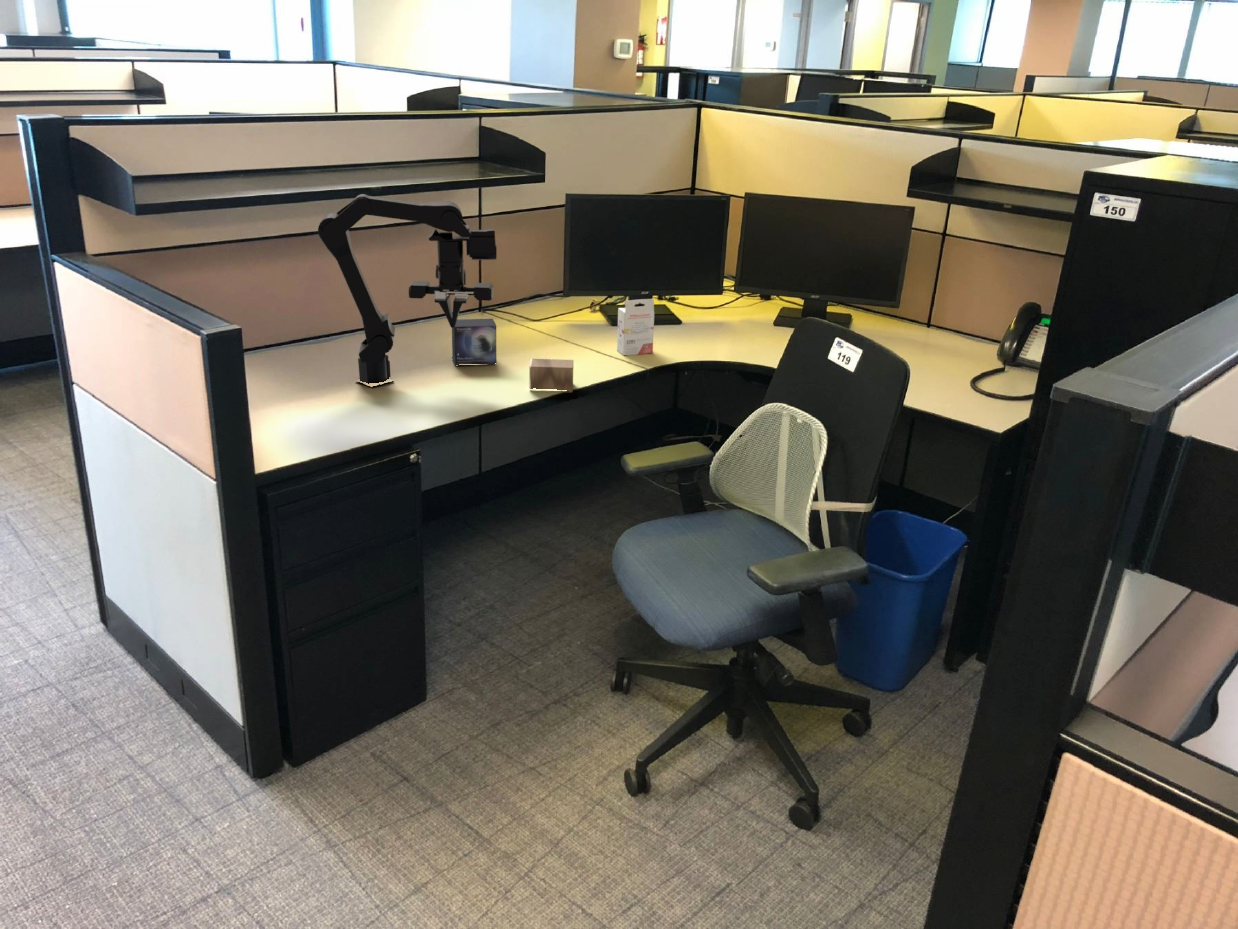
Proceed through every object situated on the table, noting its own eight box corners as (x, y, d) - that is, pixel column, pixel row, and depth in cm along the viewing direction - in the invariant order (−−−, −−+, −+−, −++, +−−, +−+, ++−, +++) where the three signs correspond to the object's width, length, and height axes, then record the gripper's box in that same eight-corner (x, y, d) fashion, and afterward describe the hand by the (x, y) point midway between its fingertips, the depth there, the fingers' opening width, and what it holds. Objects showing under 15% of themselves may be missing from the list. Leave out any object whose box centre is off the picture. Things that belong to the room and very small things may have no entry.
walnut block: (529, 366, 221) (572, 367, 222) (531, 358, 227) (573, 359, 227) (529, 391, 224) (572, 392, 224) (531, 382, 229) (573, 383, 230)
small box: (454, 367, 238) (453, 326, 233) (451, 359, 243) (450, 319, 239) (497, 365, 240) (496, 324, 236) (493, 357, 246) (492, 317, 242)
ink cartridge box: (645, 348, 259) (648, 294, 253) (653, 353, 254) (655, 298, 248) (616, 350, 256) (618, 296, 250) (623, 356, 251) (625, 300, 245)
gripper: (495, 254, 225) (496, 319, 231) (415, 251, 224) (418, 316, 230) (490, 264, 215) (491, 332, 221) (406, 261, 214) (410, 329, 220)
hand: (452, 327), depth 223 cm, fingers closed
